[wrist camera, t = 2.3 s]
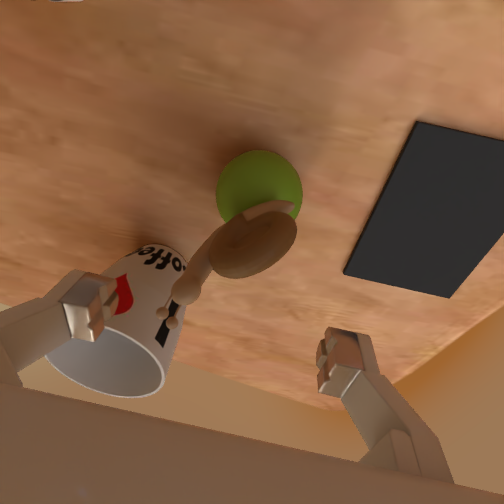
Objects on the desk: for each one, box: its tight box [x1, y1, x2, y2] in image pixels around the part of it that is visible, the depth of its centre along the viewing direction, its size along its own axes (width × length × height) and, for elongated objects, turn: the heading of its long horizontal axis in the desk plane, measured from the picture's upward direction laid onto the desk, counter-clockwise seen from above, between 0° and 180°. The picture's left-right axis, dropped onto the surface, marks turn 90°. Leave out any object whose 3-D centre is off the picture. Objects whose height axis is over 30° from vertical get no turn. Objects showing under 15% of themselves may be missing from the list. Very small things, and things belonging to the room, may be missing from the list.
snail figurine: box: [156, 150, 303, 329], centre depth 16 cm, size 5×6×12 cm
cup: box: [44, 244, 187, 398], centre depth 23 cm, size 8×8×10 cm
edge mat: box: [343, 121, 504, 298], centre depth 21 cm, size 12×9×1 cm
